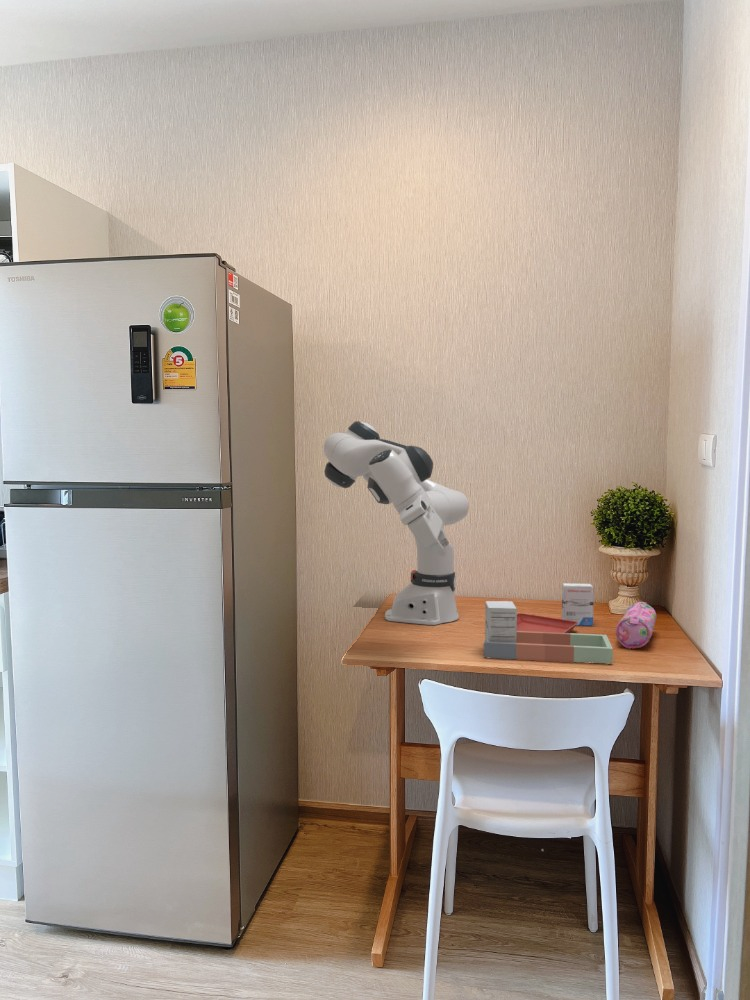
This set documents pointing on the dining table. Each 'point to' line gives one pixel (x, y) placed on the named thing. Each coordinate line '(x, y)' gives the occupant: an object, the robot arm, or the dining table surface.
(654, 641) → the dining table surface
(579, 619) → the ink box
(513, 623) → the supplement box
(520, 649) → the channel
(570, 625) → the plant saucer
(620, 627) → the pencil case
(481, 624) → the dining table surface
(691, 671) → the dining table surface
